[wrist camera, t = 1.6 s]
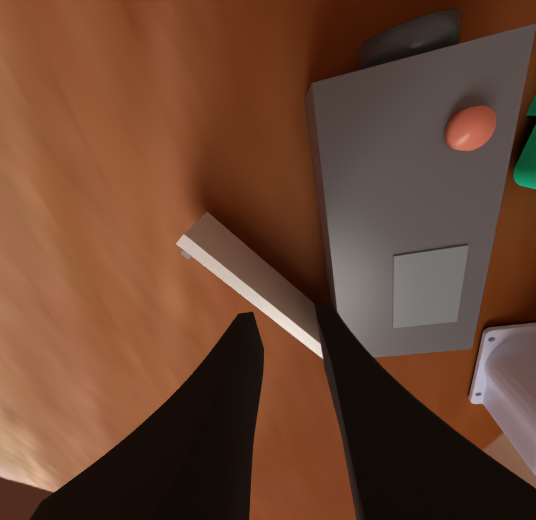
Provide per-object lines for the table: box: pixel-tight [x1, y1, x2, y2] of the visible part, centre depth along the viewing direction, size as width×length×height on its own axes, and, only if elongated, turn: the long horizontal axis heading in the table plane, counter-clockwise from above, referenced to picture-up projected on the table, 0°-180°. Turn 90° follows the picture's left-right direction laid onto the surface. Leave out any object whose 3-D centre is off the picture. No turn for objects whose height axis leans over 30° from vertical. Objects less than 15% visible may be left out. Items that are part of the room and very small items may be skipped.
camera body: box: [305, 9, 536, 357], centre depth 15 cm, size 17×8×5 cm, turn 12°
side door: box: [176, 212, 323, 359], centre depth 18 cm, size 13×2×4 cm, turn 47°
